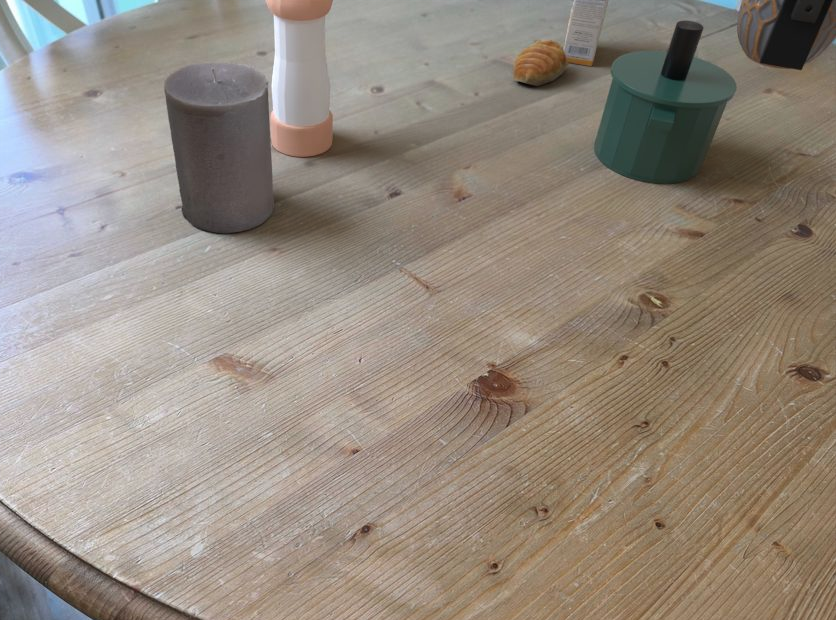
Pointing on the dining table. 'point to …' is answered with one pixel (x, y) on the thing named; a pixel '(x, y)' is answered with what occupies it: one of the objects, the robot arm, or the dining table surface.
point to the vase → (759, 19)
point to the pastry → (540, 63)
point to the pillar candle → (221, 145)
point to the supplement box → (584, 30)
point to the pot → (654, 137)
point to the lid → (675, 73)
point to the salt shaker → (300, 78)
